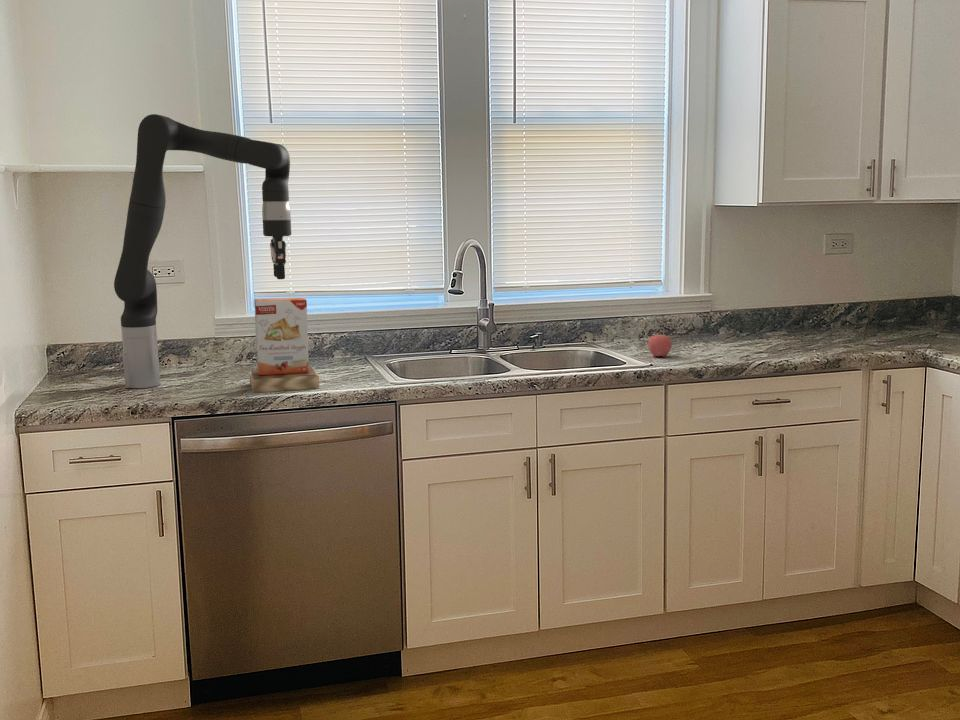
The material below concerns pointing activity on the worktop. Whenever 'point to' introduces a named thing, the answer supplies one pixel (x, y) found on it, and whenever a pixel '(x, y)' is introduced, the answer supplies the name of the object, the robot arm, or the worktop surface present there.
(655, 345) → the apple
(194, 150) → the robot arm
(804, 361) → the worktop surface
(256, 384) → the podium
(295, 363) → the cracker box
